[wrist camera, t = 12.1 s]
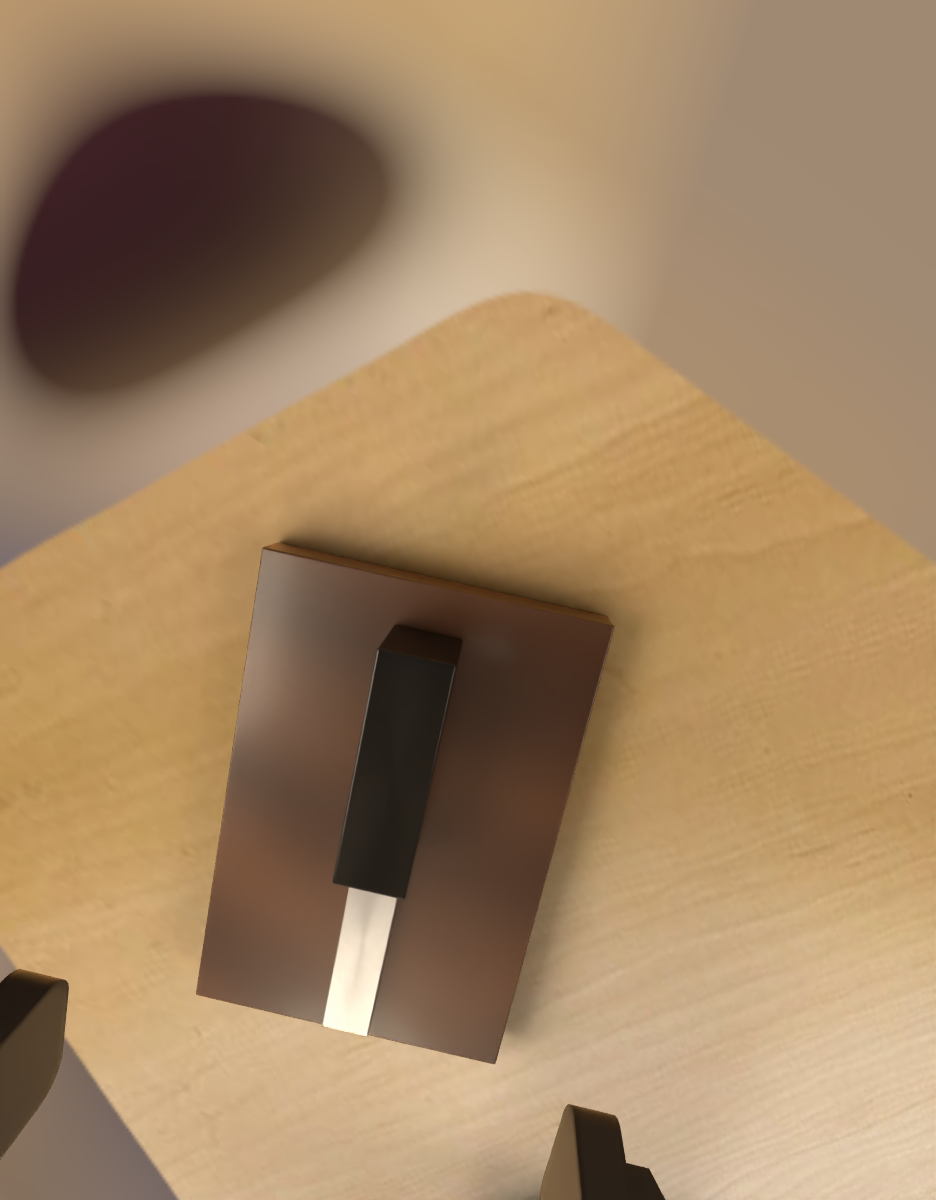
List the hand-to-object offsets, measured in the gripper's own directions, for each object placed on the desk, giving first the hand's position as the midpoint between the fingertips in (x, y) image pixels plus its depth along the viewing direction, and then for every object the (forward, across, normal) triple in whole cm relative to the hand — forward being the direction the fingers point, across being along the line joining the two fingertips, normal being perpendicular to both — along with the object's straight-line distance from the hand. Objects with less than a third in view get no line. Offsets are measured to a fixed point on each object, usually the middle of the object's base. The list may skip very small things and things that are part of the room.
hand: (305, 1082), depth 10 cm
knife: (+13, 0, +4) cm, 13 cm away
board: (+14, 0, +4) cm, 15 cm away
